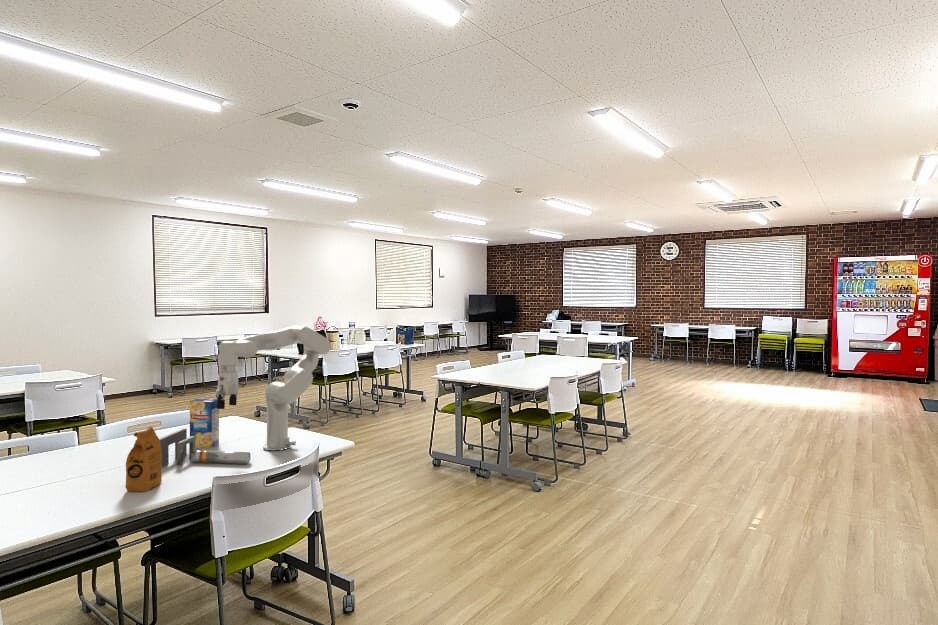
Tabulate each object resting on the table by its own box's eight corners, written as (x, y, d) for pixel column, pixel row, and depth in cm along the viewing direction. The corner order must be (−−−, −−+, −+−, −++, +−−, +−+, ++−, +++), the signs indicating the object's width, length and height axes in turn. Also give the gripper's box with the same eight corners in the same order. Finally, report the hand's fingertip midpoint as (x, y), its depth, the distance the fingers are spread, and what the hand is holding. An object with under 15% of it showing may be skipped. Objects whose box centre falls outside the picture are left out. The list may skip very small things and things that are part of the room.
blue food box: (211, 447, 267) (211, 401, 266) (189, 446, 267) (189, 401, 267) (219, 443, 273) (219, 399, 273) (197, 443, 274) (197, 398, 273)
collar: (194, 458, 250) (195, 436, 249) (180, 465, 239) (180, 442, 238) (191, 457, 250) (191, 436, 249) (177, 465, 239) (177, 442, 238)
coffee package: (120, 492, 206) (120, 433, 205) (141, 481, 218) (140, 425, 218) (147, 493, 206) (147, 433, 205) (166, 481, 218) (166, 426, 217)
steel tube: (250, 462, 245) (250, 450, 245) (245, 465, 240) (245, 453, 240) (197, 460, 246) (197, 449, 246) (191, 463, 241) (191, 451, 241)
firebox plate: (186, 454, 255) (186, 428, 254) (159, 468, 234) (159, 440, 234) (183, 454, 255) (183, 428, 254) (155, 468, 234) (155, 439, 234)
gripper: (225, 371, 241) (224, 410, 241) (246, 367, 258) (244, 404, 258) (209, 370, 242) (207, 409, 242) (230, 366, 259) (229, 403, 259)
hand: (226, 406), depth 250 cm, fingers open, 9 cm apart
